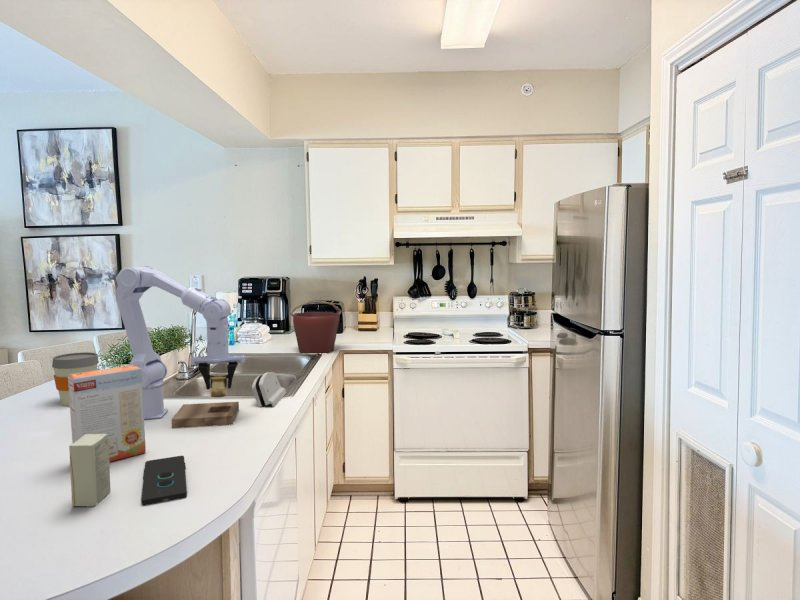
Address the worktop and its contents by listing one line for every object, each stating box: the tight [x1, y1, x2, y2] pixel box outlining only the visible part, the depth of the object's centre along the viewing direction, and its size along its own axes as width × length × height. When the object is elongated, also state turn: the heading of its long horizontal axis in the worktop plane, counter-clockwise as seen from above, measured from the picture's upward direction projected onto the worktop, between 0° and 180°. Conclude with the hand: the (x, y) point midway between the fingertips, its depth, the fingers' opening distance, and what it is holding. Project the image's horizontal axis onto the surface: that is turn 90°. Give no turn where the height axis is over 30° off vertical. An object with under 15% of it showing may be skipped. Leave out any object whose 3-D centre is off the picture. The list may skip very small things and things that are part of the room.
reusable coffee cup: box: [51, 351, 99, 407], centre depth 161 cm, size 13×12×15 cm
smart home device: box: [140, 455, 188, 507], centre depth 105 cm, size 8×2×20 cm
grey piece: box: [251, 371, 287, 408], centre depth 164 cm, size 17×5×10 cm, turn 179°
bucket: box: [290, 300, 343, 354], centre depth 246 cm, size 24×22×25 cm
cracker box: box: [68, 365, 147, 463], centre depth 116 cm, size 14×6×21 cm, turn 134°
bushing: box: [209, 372, 228, 398], centre depth 145 cm, size 5×5×6 cm
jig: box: [171, 401, 240, 429], centre depth 145 cm, size 16×14×2 cm
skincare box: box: [68, 434, 112, 507], centre depth 96 cm, size 6×4×12 cm
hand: (219, 388), depth 145 cm, fingers closed on bushing, 5 cm apart
